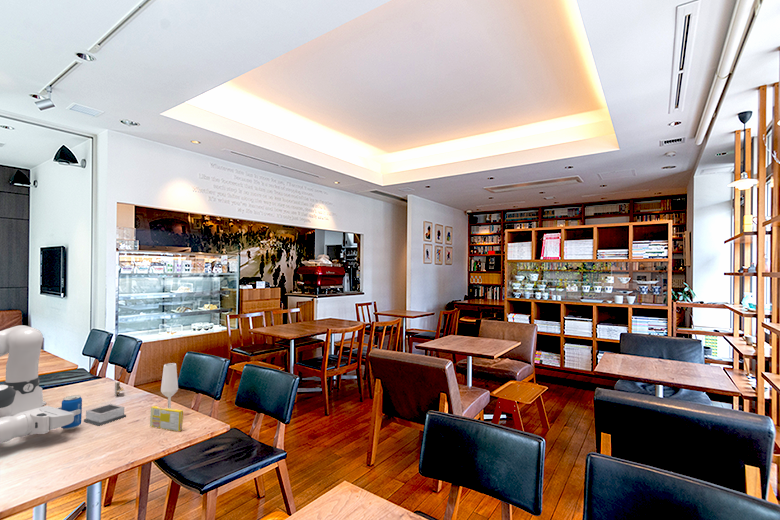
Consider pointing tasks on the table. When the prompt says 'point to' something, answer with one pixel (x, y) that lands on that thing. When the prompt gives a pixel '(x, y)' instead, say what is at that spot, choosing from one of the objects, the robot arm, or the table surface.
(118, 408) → the can holder
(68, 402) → the beverage can
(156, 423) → the candy box
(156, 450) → the table surface
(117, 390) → the architectural model
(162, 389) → the champagne flute
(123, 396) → the table surface
